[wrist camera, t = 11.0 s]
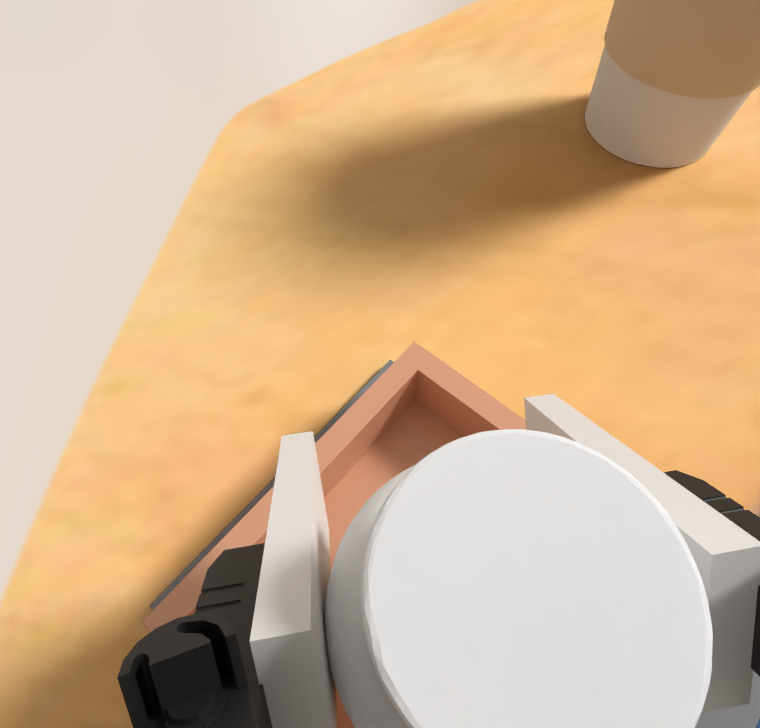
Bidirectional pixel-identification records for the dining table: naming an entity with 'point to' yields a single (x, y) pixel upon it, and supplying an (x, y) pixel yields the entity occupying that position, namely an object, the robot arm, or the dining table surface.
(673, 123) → the coffee cup
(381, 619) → the supplement bottle
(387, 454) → the dish
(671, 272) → the dining table surface
